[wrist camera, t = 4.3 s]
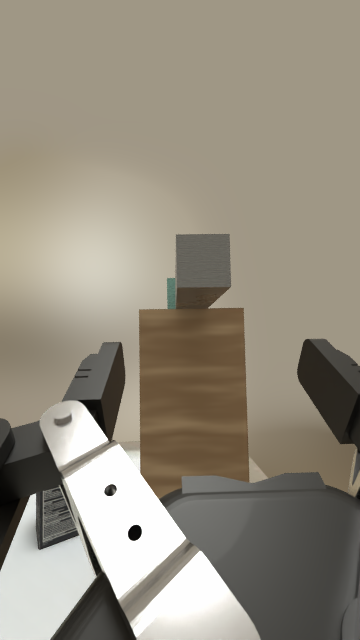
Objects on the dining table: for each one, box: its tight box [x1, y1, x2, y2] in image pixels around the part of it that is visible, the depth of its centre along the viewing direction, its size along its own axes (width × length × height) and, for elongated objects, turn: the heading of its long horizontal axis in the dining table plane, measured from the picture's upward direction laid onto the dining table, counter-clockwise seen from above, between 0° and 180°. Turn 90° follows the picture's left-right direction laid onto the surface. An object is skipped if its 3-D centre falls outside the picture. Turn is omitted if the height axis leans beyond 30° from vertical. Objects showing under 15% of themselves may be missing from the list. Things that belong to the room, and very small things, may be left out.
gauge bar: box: [167, 234, 231, 309], centre depth 28 cm, size 26×6×5 cm, turn 1°
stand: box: [139, 308, 249, 499], centre depth 32 cm, size 14×10×32 cm
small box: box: [36, 486, 79, 549], centre depth 44 cm, size 11×6×10 cm, turn 121°
